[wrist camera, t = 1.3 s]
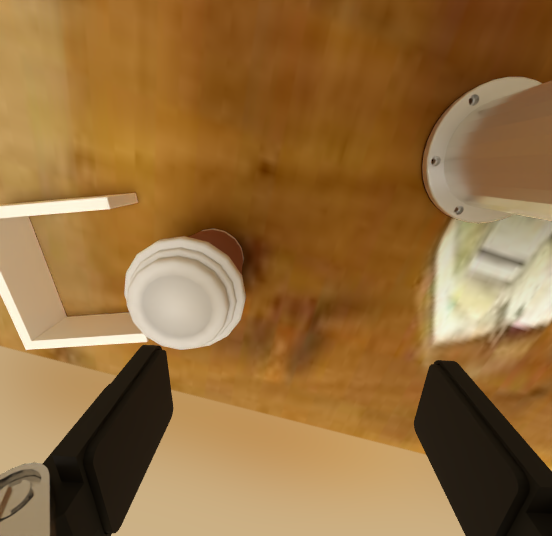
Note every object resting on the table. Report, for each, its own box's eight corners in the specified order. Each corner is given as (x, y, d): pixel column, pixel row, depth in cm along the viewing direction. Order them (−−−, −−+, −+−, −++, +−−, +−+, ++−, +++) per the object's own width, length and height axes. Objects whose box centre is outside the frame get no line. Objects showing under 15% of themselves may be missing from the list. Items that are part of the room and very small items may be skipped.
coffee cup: (216, 309, 32) (182, 382, 21) (156, 254, 30) (83, 303, 19) (272, 260, 30) (269, 313, 19) (213, 197, 28) (168, 214, 17)
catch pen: (135, 192, 28) (106, 197, 23) (166, 317, 33) (147, 341, 28) (14, 203, 29) (-39, 209, 24) (61, 324, 33) (25, 349, 29)
